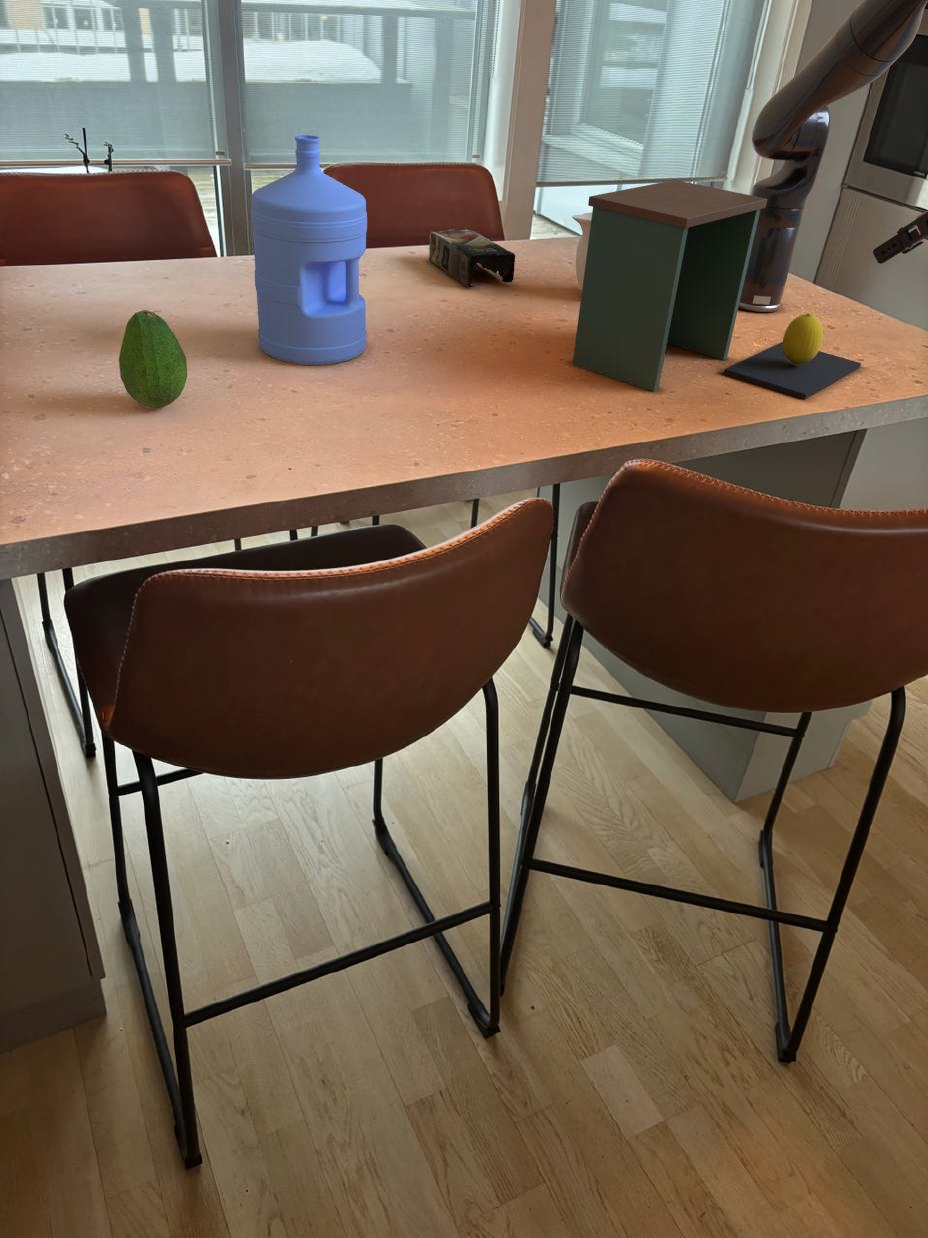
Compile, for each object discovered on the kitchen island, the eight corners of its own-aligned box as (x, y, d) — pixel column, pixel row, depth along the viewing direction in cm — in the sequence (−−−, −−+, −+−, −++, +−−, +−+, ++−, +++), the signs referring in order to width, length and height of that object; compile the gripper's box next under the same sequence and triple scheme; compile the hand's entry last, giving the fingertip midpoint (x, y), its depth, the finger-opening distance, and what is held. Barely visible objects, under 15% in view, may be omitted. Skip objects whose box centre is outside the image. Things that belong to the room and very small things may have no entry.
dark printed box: (423, 258, 184) (425, 225, 181) (469, 257, 188) (472, 224, 184) (466, 289, 169) (468, 254, 166) (515, 287, 173) (518, 252, 170)
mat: (782, 345, 154) (784, 340, 154) (859, 367, 148) (861, 362, 147) (723, 373, 142) (724, 368, 141) (804, 399, 135) (806, 394, 134)
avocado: (129, 421, 115) (115, 322, 108) (121, 397, 121) (106, 302, 114) (196, 414, 118) (186, 317, 111) (185, 391, 123) (175, 298, 117)
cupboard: (648, 333, 155) (675, 179, 142) (731, 358, 148) (767, 198, 134) (567, 363, 141) (588, 196, 128) (654, 393, 133) (687, 218, 120)
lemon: (795, 374, 141) (809, 320, 136) (769, 361, 145) (782, 309, 140) (822, 370, 143) (837, 317, 139) (796, 358, 147) (810, 305, 143)
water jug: (238, 354, 136) (222, 137, 120) (291, 324, 148) (283, 123, 132) (337, 374, 132) (334, 152, 116) (383, 341, 144) (386, 136, 128)
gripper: (1012, 144, 121) (894, 221, 134) (977, 154, 112) (854, 235, 125) (1039, 196, 122) (919, 268, 134) (1006, 210, 113) (881, 286, 125)
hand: (888, 252), depth 129 cm, fingers open, 8 cm apart
